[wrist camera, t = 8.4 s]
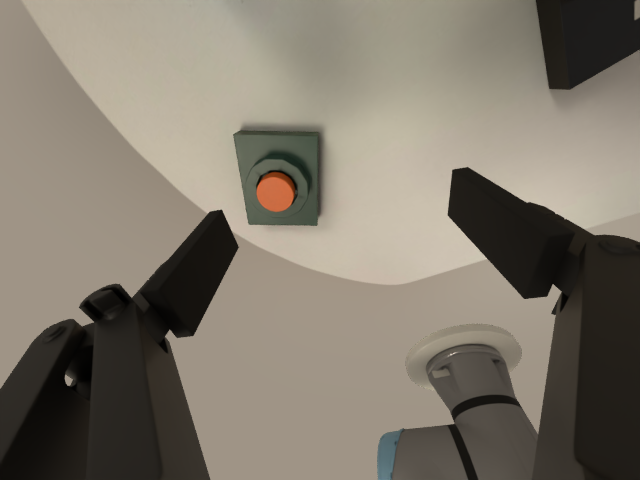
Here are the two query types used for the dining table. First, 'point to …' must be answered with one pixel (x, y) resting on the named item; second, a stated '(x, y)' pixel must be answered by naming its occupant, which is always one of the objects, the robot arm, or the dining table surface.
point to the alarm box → (285, 157)
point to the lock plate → (586, 37)
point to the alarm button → (276, 192)
